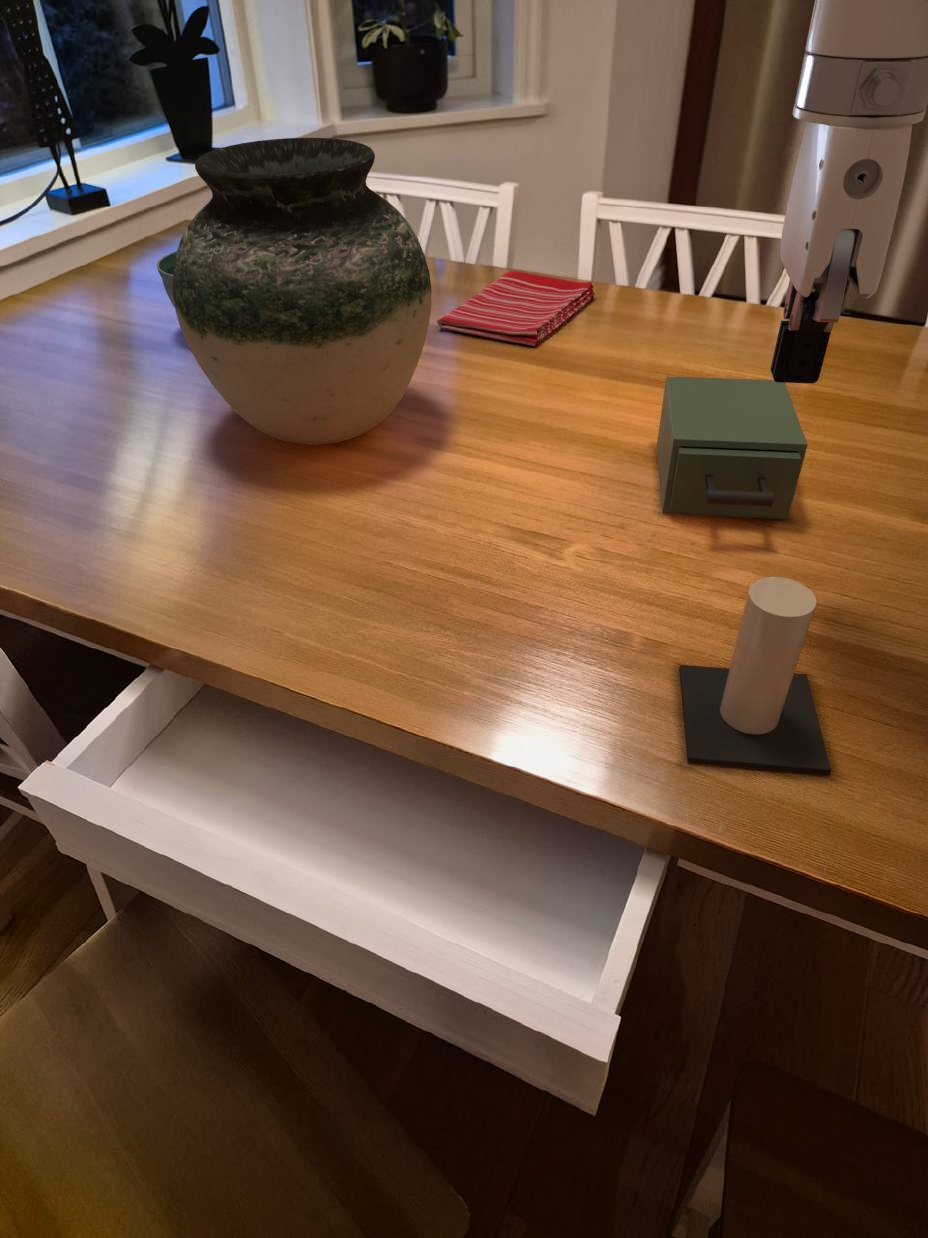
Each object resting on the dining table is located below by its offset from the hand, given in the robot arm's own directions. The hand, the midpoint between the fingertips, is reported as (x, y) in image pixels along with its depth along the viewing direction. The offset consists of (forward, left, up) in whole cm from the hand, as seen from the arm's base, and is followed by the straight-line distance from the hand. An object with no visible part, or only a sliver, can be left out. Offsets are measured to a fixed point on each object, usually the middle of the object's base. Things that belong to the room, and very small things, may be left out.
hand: (793, 377), depth 62 cm
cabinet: (0, -21, -21) cm, 30 cm away
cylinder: (+1, +15, -20) cm, 25 cm away
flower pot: (+70, -59, -21) cm, 94 cm away
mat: (+1, +15, -21) cm, 26 cm away
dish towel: (+26, -70, -21) cm, 78 cm away
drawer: (0, -17, -20) cm, 26 cm away
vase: (+47, -30, -21) cm, 60 cm away
